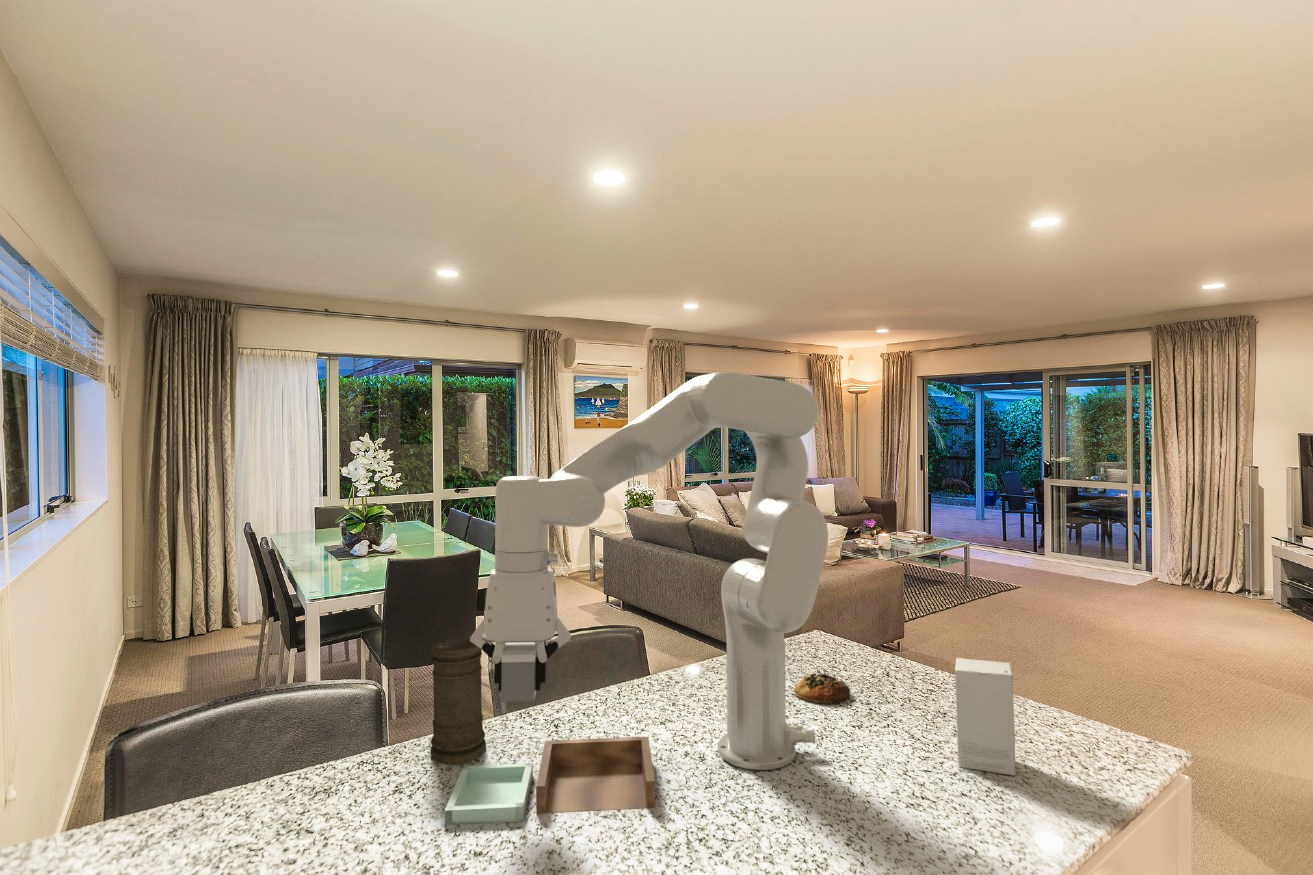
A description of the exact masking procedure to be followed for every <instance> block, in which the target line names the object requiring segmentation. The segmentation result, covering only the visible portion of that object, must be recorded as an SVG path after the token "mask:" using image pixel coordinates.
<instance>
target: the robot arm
mask: <svg viewBox="0 0 1313 875" xmlns="http://www.w3.org/2000/svg"><path fill="white" fill-rule="evenodd" d="M818 418H819V405H818V402H817V399H816V398H815V396H814V394H813V393H812V392H811V391H810V390H809V389H807V388H806V387H805V386H803V385H801V384H798V383H794V382H792V381H791V382H790V381H784V380H778V379H772V378H766V377H761V376H757V375H749V374H745V373H739V372H733V371H718V372H717V371H716V372H712V373H711V372H710V373H706V374H702V375H698V376H695V377H694V378H693V377H692V379H690V380H688V381H687V382H684V383H683V384H681V386H679V387H678V388H676V390H675V389H674V391H673V392H671V393H670V394H668V395H667V396H666V397H664V398H663V399H661V401H659V402H658V403H656V404H654V406H652V407H651V408H650V409H648V410H646V411H644V412H643V413H642V414H640V416H638V417H637V418H635V419H634V420H632V421H631V422H629V423H628V424H627V425H624V426H623V427H622V428H620V429H617V430H616V431H615V432H614V433H612V434H611V435H609V436H608V437H606V438H605V439H602V440H601V441H600V442H598V443H597V444H595V445H593V446H592V447H590V448H588V449H587V450H586V451H584V452H582V453H581V454H580V455H579V456H577V457H575V458H574V459H572V460H571V461H570V462H568V463H567V464H566V465H564V466H563V467H562V468H561V469H559V470H558V471H556V472H555V473H554V474H553V475H551V476H550V477H549V478H548V479H545V478H544V477H541V476H535V475H513V476H511V475H510V476H504V477H501V478H500V479H499V480H498V481H497V483H496V486H495V521H494V522H495V523H494V524H495V526H494V527H495V528H494V529H495V531H494V532H495V534H494V535H495V536H494V538H495V540H494V542H495V543H494V544H495V545H494V546H495V550H494V568H493V569H491V570H490V573H489V577H488V583H487V588H486V597H485V605H484V606H485V607H484V608H485V609H484V618H483V620H482V621H481V622H480V624H479V625H478V626H477V628H476V629H475V631H473V633H472V634H471V636H469V637H470V641H471V642H472V643H474V644H475V645H476V646H478V647H479V648H481V649H482V650H481V651H483V652H484V653H485V654H486V656H488V657H489V659H491V661H492V663H493V664H494V674H493V675H494V676H493V678H494V679H493V680H494V682H493V683H494V684H496V685H498V692H501V682H502V662H501V655H502V653H503V651H504V648H505V646H506V644H507V642H535V646H536V650H537V654H538V656H537V661H536V682H535V690H536V692H539V691H541V689H542V688H541V687H542V685H543V683H544V684H545V683H547V660H549V658H551V656H552V655H553V654H554V653H555V652H557V650H558V649H559V648H561V647H562V646H564V645H565V644H566V643H568V642H569V641H570V640H571V636H572V634H571V633H570V631H569V630H568V629H567V627H566V625H565V624H564V622H562V621H561V619H560V618H559V616H558V607H557V606H558V605H557V604H558V603H557V602H558V601H557V587H556V578H555V573H554V569H553V568H550V567H549V566H550V565H551V564H556V563H557V564H558V563H559V553H554V552H551V550H549V526H560V527H570V528H582V527H588V526H589V525H591V524H594V522H596V521H597V520H598V519H599V518H600V517H601V516H602V514H603V512H604V509H605V506H606V505H605V504H606V497H605V493H607V492H608V491H610V490H611V489H614V488H615V487H616V486H619V485H620V484H622V483H624V482H625V481H628V480H630V479H633V478H635V477H639V476H642V475H645V474H650V473H653V472H654V471H657V470H660V468H664V467H665V466H667V465H668V464H669V463H670V462H672V461H673V460H674V459H676V458H677V457H679V455H681V454H682V453H683V452H685V451H686V450H688V449H689V448H690V447H691V446H692V445H694V444H695V443H697V442H698V441H699V440H700V439H702V438H703V437H704V436H706V435H708V434H709V433H710V432H711V431H712V430H714V429H718V428H719V429H721V428H722V429H723V428H724V429H725V428H727V429H733V430H740V431H743V432H745V434H746V435H747V436H748V437H749V439H750V441H751V443H752V445H753V448H754V451H755V456H756V466H755V471H754V472H755V473H754V478H753V481H752V482H753V483H752V487H751V491H750V494H749V499H748V504H747V507H746V512H745V516H744V518H743V519H744V520H743V524H742V525H743V527H742V528H743V529H742V530H743V535H744V537H745V538H744V539H745V541H746V543H748V544H749V545H750V546H751V547H752V548H755V550H757V551H760V552H763V553H766V554H767V556H766V559H765V560H766V561H765V560H763V559H758V558H753V557H751V558H749V557H748V558H743V559H739V560H737V561H736V562H735V561H734V562H733V563H732V564H731V565H730V566H728V568H727V569H726V571H725V573H724V575H723V577H722V581H721V585H720V586H721V587H720V588H721V589H720V597H721V603H722V604H721V605H722V610H723V618H724V623H725V624H724V625H725V637H726V638H725V640H726V732H727V733H726V734H725V735H723V736H722V737H721V738H720V739H719V740H718V743H717V752H718V755H719V756H720V757H721V758H722V759H723V760H724V761H725V762H726V763H728V764H730V765H732V766H735V767H739V768H742V769H745V770H753V771H754V770H755V771H769V770H775V769H776V770H777V769H780V768H783V767H786V766H788V765H789V764H791V763H792V762H793V761H794V759H795V757H796V746H797V744H798V743H804V744H811V743H816V733H815V730H814V729H805V730H804V726H803V725H793V726H792V725H790V726H789V724H788V723H787V721H786V714H787V713H786V710H787V709H786V643H785V635H784V634H788V633H792V632H795V631H797V630H799V629H800V628H802V626H803V625H805V623H806V622H807V621H808V620H809V617H810V615H811V613H812V611H813V609H814V605H815V602H816V598H817V594H818V589H819V586H820V581H821V577H822V572H823V567H824V563H825V559H826V554H827V549H828V545H829V544H828V543H829V530H828V524H827V520H826V518H825V516H824V514H823V513H822V511H821V510H820V509H819V508H818V507H817V506H816V505H815V504H813V503H811V502H809V501H807V500H804V496H805V490H806V484H807V479H808V473H809V459H808V454H807V450H806V447H805V444H804V442H803V440H802V438H801V437H804V436H805V435H807V434H809V433H810V431H812V429H813V428H814V427H815V425H816V423H817V421H818ZM556 634H557V635H558V636H557V637H556V638H554V637H555V635H556ZM550 640H551V641H550ZM549 641H550V642H549ZM547 642H549V643H548V644H547ZM494 643H495V644H494Z"/></svg>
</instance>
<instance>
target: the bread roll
mask: <svg viewBox="0 0 1313 875" xmlns="http://www.w3.org/2000/svg"><path fill="white" fill-rule="evenodd" d="M793 692H794V694H795V695H796V696H797V697H798V698H799V699H801V700H804V701H806V702H809V703H810V702H811V703H815V704H818V705H823V704H825V705H826V704H838V703H839V704H841V703H844V702H846V701H847V700H848V699H850V697H851V694H850V693H851V689H850V687H849V686H848V685H847V684H846V683H845V682H844V680H842V679H841V680H838V679H837V678H836V677H835V676H832V675H830V674H825V673H823V672H821V673H818V674H816V673H811V674H808V675H804V676H803V678H802V679H801V680H799V682H797V683H796V684H795V687H794V689H793Z"/></svg>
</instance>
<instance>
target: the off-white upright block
mask: <svg viewBox="0 0 1313 875" xmlns="http://www.w3.org/2000/svg"><path fill="white" fill-rule="evenodd" d="M537 656H538V654H537V650H536V646H535V642H506V645H505V648H504V651H503V653H502V655H501V662H502V682H501V691H500V692H501V693H500V694H501V697H500V699H501V702H502V703H505V702H507V703H508V702H513V703H514V702H534V701H535V699H536V696H537V691H536V690H535V682H536V661H537Z"/></svg>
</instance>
